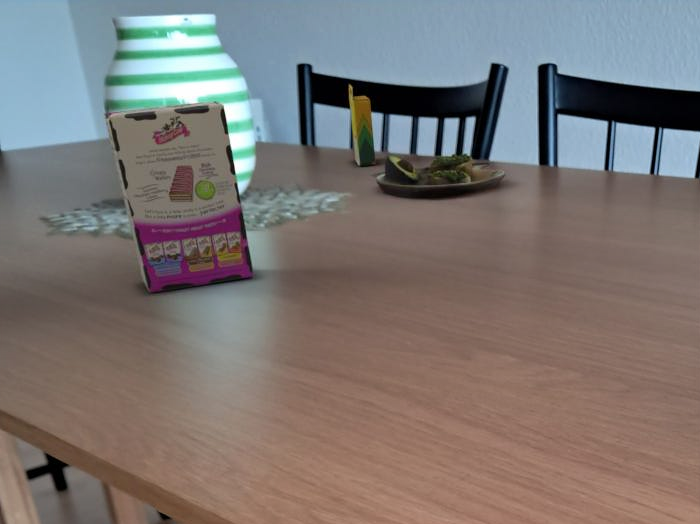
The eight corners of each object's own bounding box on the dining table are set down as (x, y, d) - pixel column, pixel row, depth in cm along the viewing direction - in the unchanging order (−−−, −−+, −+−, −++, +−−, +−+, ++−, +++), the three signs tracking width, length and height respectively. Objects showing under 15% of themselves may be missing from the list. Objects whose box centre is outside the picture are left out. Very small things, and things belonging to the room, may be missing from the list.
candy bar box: (244, 268, 111) (216, 99, 102) (255, 278, 107) (226, 103, 98) (140, 283, 107) (101, 110, 98) (147, 294, 103) (107, 114, 94)
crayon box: (376, 165, 168) (369, 85, 161) (358, 166, 167) (350, 87, 161) (372, 159, 174) (364, 82, 167) (354, 160, 173) (346, 83, 167)
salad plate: (453, 171, 159) (451, 138, 157) (535, 181, 148) (534, 146, 146) (356, 190, 148) (352, 156, 146) (437, 202, 137) (434, 165, 135)
